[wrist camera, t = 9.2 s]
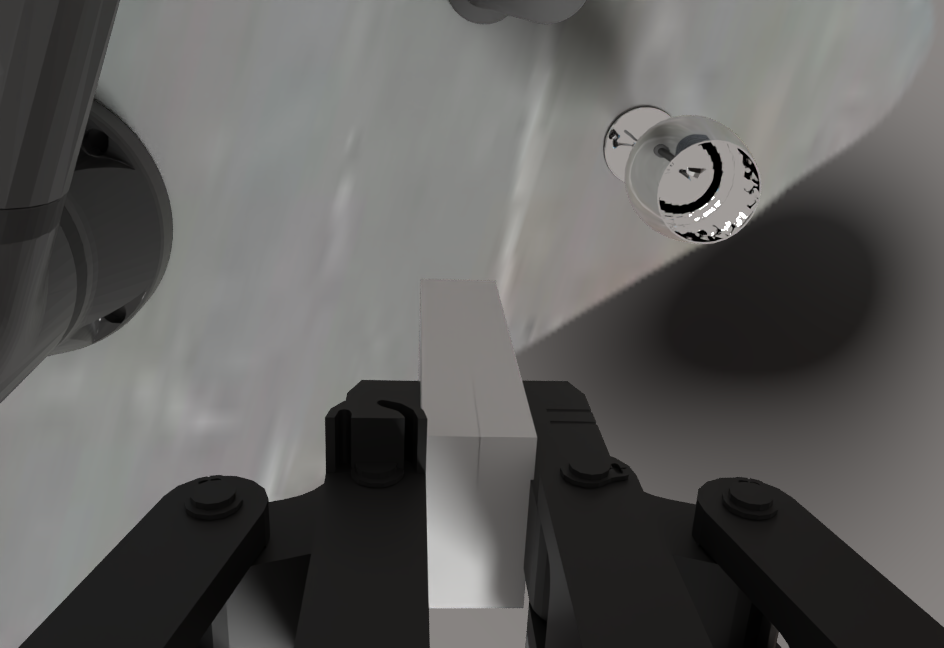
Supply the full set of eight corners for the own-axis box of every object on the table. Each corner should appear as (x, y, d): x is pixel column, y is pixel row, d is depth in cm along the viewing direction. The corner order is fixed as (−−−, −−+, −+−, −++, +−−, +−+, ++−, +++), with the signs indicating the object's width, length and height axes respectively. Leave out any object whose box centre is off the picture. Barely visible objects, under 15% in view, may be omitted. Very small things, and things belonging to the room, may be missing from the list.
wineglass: (607, 85, 48) (665, 114, 37) (705, 106, 48) (792, 140, 37) (581, 187, 50) (629, 243, 38) (676, 205, 50) (750, 266, 39)
